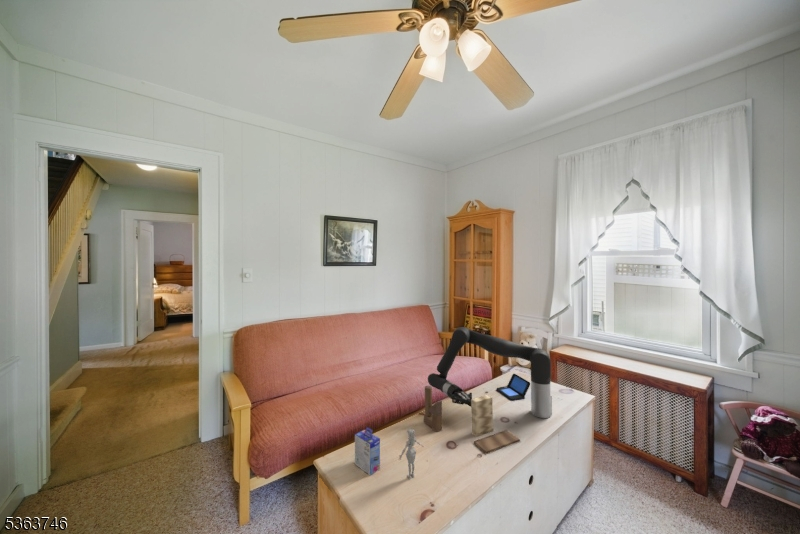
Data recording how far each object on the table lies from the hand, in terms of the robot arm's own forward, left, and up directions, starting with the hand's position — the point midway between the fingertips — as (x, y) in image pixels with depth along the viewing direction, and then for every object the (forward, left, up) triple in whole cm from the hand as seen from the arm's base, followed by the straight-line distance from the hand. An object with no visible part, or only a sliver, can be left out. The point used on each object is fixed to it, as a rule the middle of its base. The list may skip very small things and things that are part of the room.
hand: (473, 404), depth 143 cm
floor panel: (0, +16, -10) cm, 19 cm away
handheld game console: (-43, -16, -10) cm, 47 cm away
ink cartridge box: (+56, +5, -10) cm, 57 cm away
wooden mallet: (+18, -8, -10) cm, 22 cm away
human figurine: (+43, +18, -10) cm, 48 cm away
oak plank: (0, +7, -10) cm, 12 cm away
